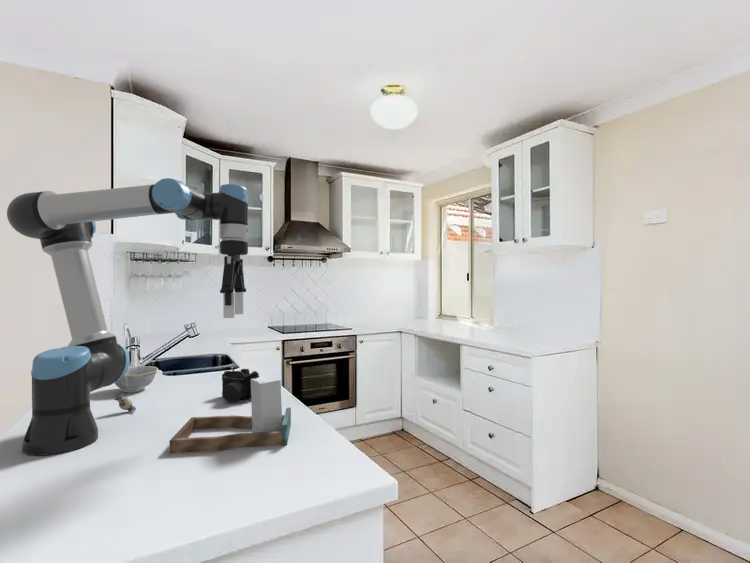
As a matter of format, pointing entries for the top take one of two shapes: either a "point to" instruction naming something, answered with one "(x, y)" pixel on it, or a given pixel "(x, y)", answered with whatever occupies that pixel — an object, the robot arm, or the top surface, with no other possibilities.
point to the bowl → (137, 378)
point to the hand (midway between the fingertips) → (234, 316)
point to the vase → (125, 404)
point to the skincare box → (266, 404)
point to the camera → (237, 385)
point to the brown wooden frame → (203, 444)
